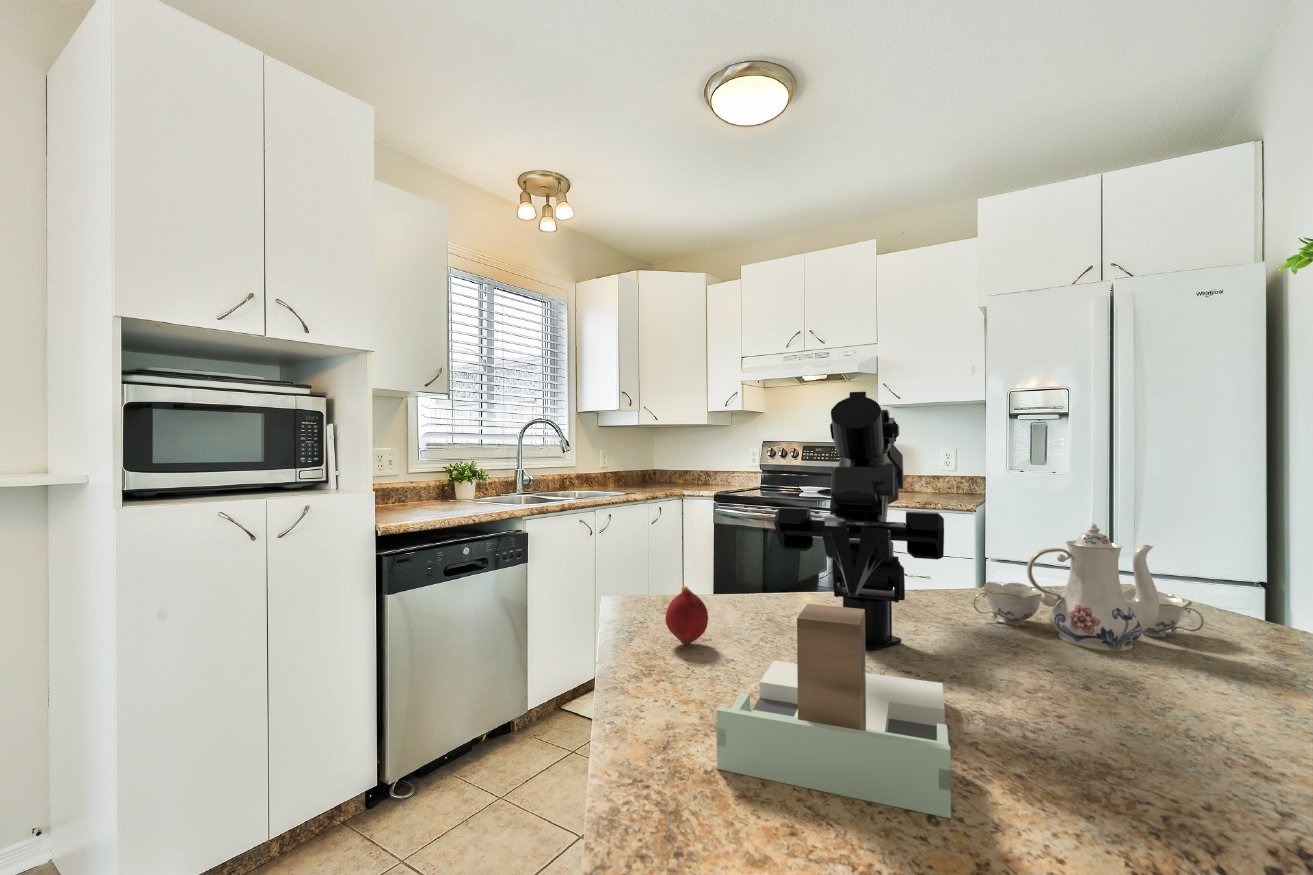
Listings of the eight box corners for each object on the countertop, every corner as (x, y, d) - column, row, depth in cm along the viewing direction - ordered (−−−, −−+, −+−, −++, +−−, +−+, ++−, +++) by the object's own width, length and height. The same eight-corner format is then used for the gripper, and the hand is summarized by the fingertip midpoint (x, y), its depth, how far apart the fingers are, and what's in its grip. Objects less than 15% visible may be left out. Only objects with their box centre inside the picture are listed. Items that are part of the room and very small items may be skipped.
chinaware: (1172, 636, 92) (1164, 523, 94) (1248, 663, 76) (1237, 527, 78) (966, 624, 99) (963, 519, 101) (997, 647, 83) (992, 521, 85)
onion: (708, 638, 88) (708, 581, 88) (707, 652, 82) (707, 591, 82) (667, 637, 88) (667, 581, 88) (664, 651, 82) (663, 590, 83)
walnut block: (808, 724, 56) (807, 603, 57) (866, 734, 55) (864, 609, 55) (798, 749, 52) (796, 618, 52) (860, 761, 50) (859, 624, 50)
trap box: (774, 677, 73) (773, 634, 73) (942, 701, 66) (942, 654, 66) (716, 768, 53) (716, 709, 53) (951, 818, 46) (950, 750, 46)
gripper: (776, 441, 77) (755, 546, 67) (942, 440, 69) (947, 558, 59) (789, 498, 84) (772, 601, 74) (941, 503, 77) (945, 617, 67)
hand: (852, 594), depth 68 cm, fingers closed
